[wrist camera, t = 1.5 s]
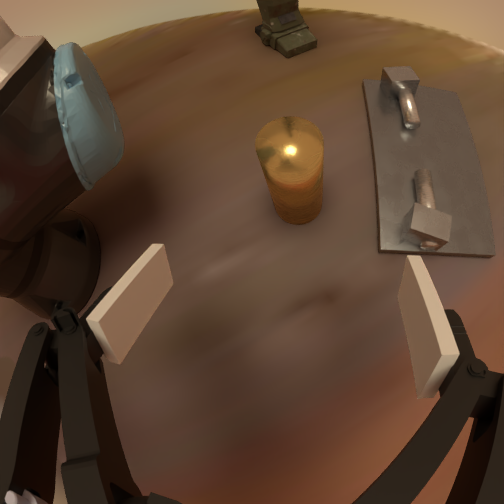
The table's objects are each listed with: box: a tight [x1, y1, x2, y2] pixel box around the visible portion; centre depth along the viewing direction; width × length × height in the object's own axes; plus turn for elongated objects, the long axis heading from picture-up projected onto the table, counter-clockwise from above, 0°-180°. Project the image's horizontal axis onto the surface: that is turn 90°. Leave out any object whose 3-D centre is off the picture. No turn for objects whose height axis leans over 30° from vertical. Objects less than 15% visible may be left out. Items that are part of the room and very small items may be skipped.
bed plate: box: [362, 66, 495, 258], centre depth 27 cm, size 23×14×5 cm, turn 175°
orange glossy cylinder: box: [255, 117, 324, 225], centre depth 26 cm, size 5×5×11 cm
